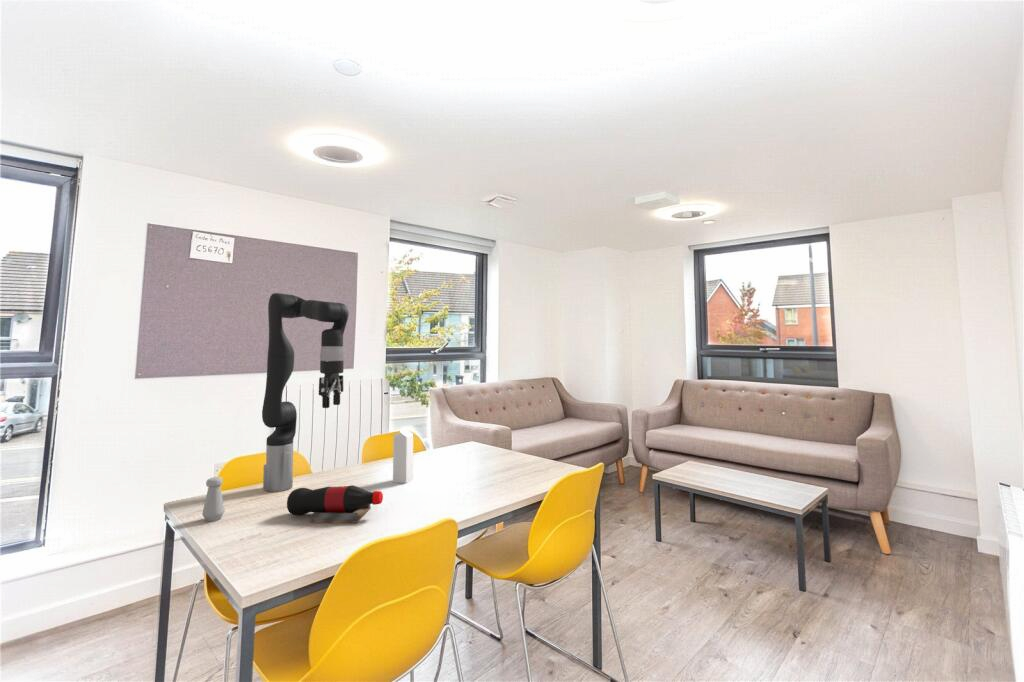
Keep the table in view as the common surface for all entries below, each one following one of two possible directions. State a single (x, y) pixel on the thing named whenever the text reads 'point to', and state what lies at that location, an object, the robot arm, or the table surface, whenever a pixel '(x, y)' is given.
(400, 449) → the milk
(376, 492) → the cola bottle
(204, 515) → the salt shaker
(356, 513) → the cradle
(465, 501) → the table surface
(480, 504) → the table surface
